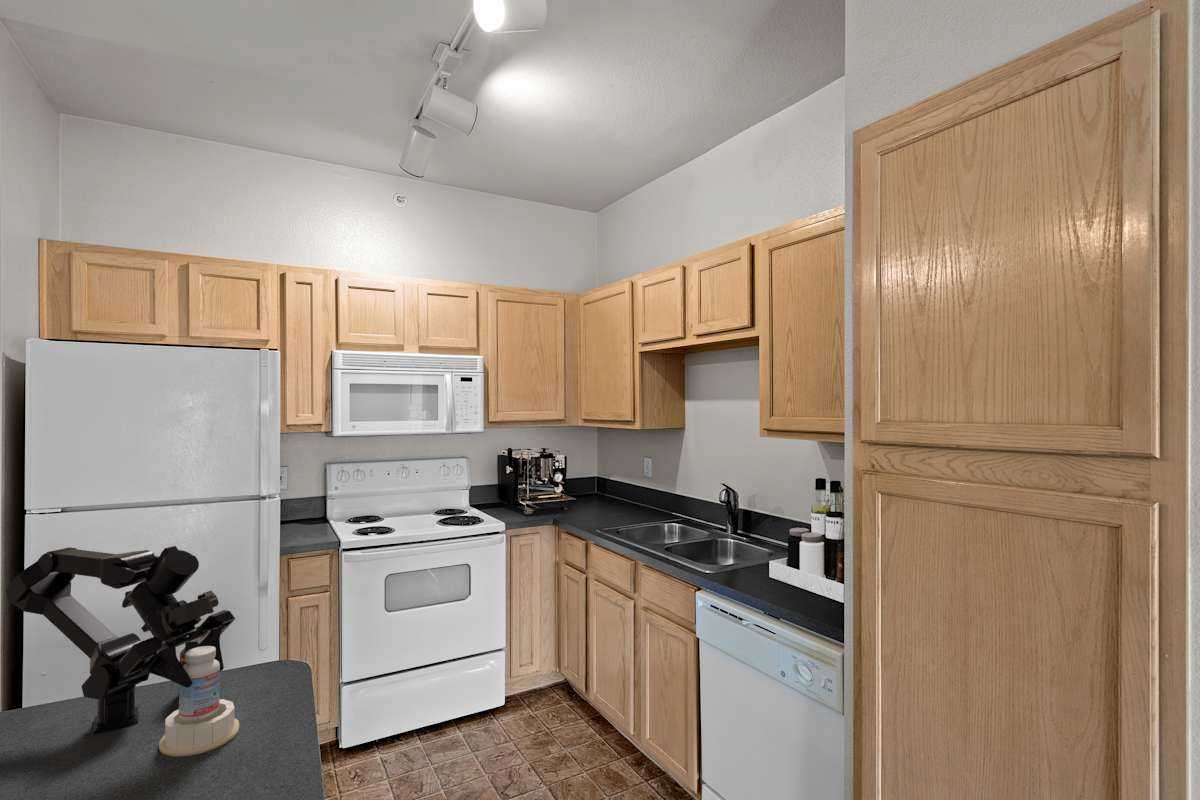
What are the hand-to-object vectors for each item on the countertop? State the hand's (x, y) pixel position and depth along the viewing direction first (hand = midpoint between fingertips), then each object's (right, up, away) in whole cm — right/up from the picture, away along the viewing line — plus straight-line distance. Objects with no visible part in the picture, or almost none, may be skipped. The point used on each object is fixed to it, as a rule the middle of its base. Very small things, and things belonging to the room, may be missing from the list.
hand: (206, 677), depth 109 cm
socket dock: (-1, -11, 0) cm, 11 cm away
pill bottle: (-1, -7, 0) cm, 7 cm away
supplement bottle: (-13, -11, +17) cm, 25 cm away
